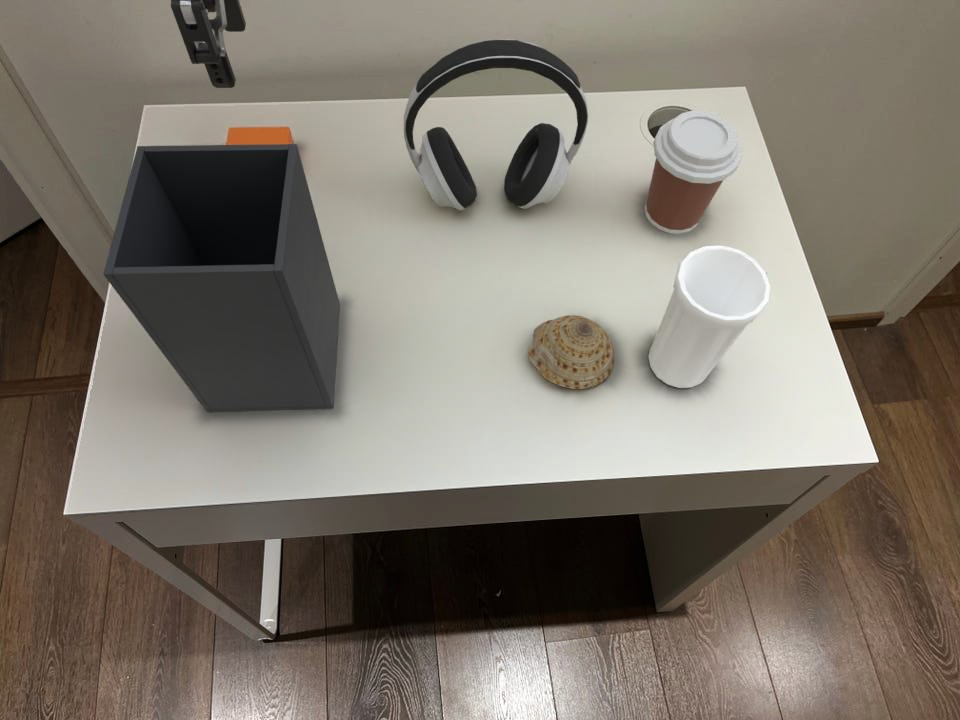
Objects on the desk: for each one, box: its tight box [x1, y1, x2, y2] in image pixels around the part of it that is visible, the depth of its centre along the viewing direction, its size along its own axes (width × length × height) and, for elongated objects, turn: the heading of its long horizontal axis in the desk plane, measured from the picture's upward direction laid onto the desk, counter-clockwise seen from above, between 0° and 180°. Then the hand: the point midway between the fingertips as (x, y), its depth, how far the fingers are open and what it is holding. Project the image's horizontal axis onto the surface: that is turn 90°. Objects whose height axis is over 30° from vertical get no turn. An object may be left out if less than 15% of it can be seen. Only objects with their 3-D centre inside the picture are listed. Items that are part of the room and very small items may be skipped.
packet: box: [225, 126, 295, 145], centre depth 82 cm, size 7×4×4 cm, turn 92°
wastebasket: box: [103, 143, 341, 413], centre depth 61 cm, size 12×12×23 cm
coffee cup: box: [644, 109, 743, 235], centre depth 76 cm, size 9×9×12 cm
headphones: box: [403, 38, 589, 211], centre depth 73 cm, size 19×8×20 cm, turn 95°
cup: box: [648, 245, 772, 389], centre depth 66 cm, size 8×8×14 cm
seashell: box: [527, 314, 615, 390], centre depth 71 cm, size 8×6×8 cm
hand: (230, 56), depth 71 cm, fingers open, 8 cm apart
